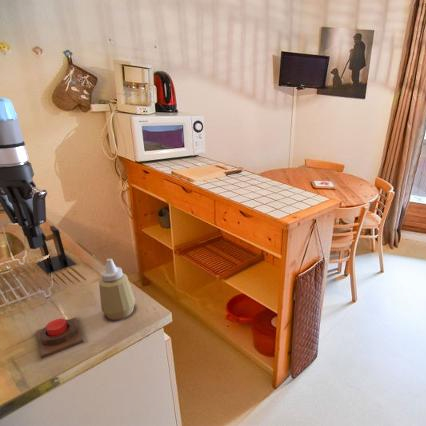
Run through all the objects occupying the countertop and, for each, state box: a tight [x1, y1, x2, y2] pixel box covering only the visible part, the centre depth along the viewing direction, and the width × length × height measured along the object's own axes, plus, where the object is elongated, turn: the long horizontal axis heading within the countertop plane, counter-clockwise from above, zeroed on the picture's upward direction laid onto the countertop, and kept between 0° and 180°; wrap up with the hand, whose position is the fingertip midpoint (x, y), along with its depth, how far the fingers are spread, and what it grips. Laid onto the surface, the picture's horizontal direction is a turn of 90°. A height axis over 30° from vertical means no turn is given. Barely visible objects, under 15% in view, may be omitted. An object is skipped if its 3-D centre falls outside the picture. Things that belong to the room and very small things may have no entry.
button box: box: [36, 316, 84, 359], centre depth 79 cm, size 10×8×4 cm
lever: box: [40, 223, 54, 242], centre depth 105 cm, size 14×4×4 cm, turn 55°
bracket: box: [35, 225, 77, 275], centre depth 105 cm, size 10×8×14 cm
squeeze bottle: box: [98, 257, 136, 321], centre depth 86 cm, size 8×8×18 cm
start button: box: [45, 318, 68, 336], centre depth 78 cm, size 4×4×2 cm
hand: (37, 246), depth 87 cm, fingers closed
